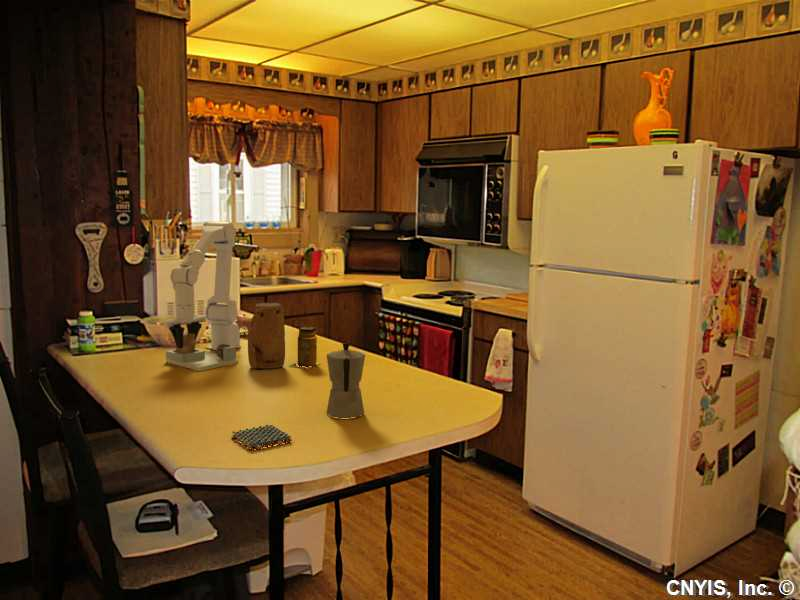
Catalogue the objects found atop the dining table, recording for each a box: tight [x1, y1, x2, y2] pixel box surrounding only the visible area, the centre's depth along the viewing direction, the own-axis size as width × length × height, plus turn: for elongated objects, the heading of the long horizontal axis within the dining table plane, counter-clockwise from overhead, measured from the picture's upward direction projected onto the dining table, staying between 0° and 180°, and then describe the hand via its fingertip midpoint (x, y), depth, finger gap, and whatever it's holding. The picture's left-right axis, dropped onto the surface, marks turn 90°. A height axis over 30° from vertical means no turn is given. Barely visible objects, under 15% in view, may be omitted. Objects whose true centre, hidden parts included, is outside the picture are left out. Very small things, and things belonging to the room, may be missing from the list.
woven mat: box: [231, 424, 293, 450], centre depth 149 cm, size 10×11×2 cm
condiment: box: [288, 326, 318, 370], centre depth 217 cm, size 7×8×12 cm
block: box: [247, 302, 286, 370], centre depth 212 cm, size 11×8×20 cm
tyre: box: [215, 344, 231, 358], centre depth 218 cm, size 4×2×4 cm, turn 143°
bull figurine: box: [236, 311, 252, 338], centre depth 263 cm, size 4×13×8 cm, turn 40°
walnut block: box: [175, 331, 196, 354], centre depth 217 cm, size 4×4×6 cm
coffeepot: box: [326, 342, 366, 418], centre depth 166 cm, size 15×9×18 cm, turn 6°
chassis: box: [165, 346, 239, 372], centre depth 217 cm, size 15×17×5 cm
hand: (185, 346), depth 217 cm, fingers closed on walnut block, 4 cm apart
